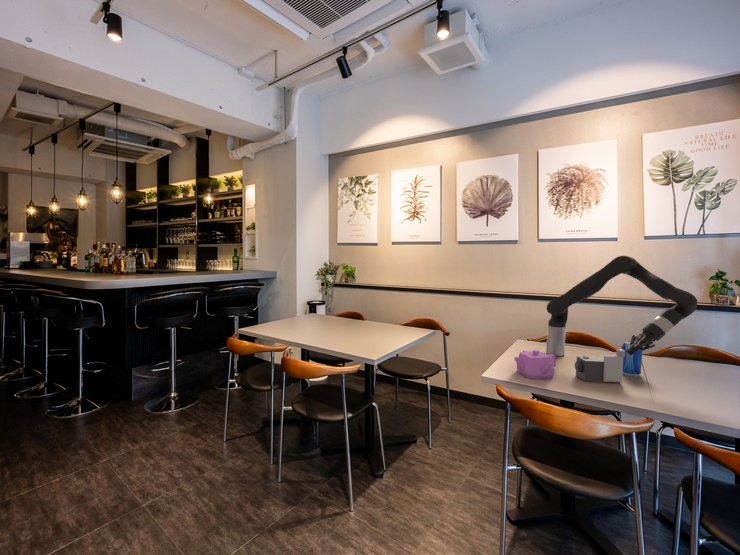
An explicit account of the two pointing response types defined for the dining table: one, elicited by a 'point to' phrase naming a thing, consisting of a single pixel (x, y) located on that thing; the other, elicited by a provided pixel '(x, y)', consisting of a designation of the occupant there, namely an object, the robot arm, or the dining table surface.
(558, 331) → the robot arm
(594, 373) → the camera body
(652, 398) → the dining table surface
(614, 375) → the side door
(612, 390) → the dining table surface
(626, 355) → the beer can
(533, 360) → the teakettle
